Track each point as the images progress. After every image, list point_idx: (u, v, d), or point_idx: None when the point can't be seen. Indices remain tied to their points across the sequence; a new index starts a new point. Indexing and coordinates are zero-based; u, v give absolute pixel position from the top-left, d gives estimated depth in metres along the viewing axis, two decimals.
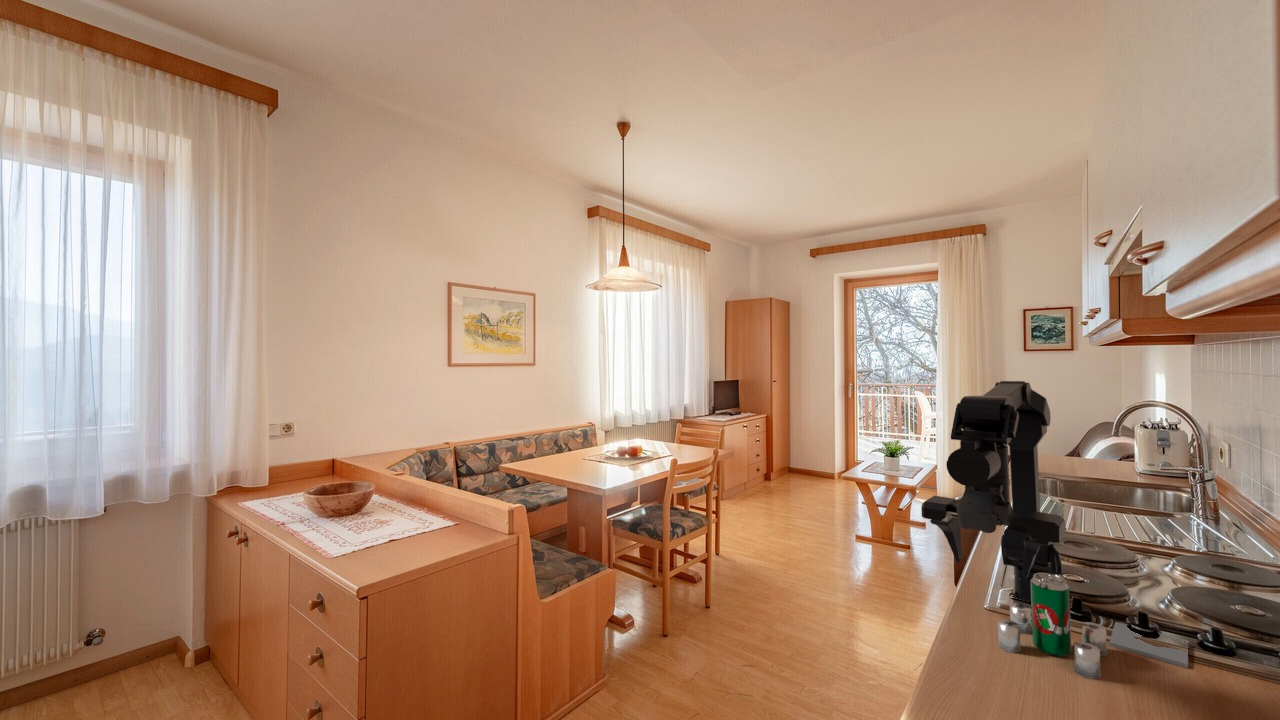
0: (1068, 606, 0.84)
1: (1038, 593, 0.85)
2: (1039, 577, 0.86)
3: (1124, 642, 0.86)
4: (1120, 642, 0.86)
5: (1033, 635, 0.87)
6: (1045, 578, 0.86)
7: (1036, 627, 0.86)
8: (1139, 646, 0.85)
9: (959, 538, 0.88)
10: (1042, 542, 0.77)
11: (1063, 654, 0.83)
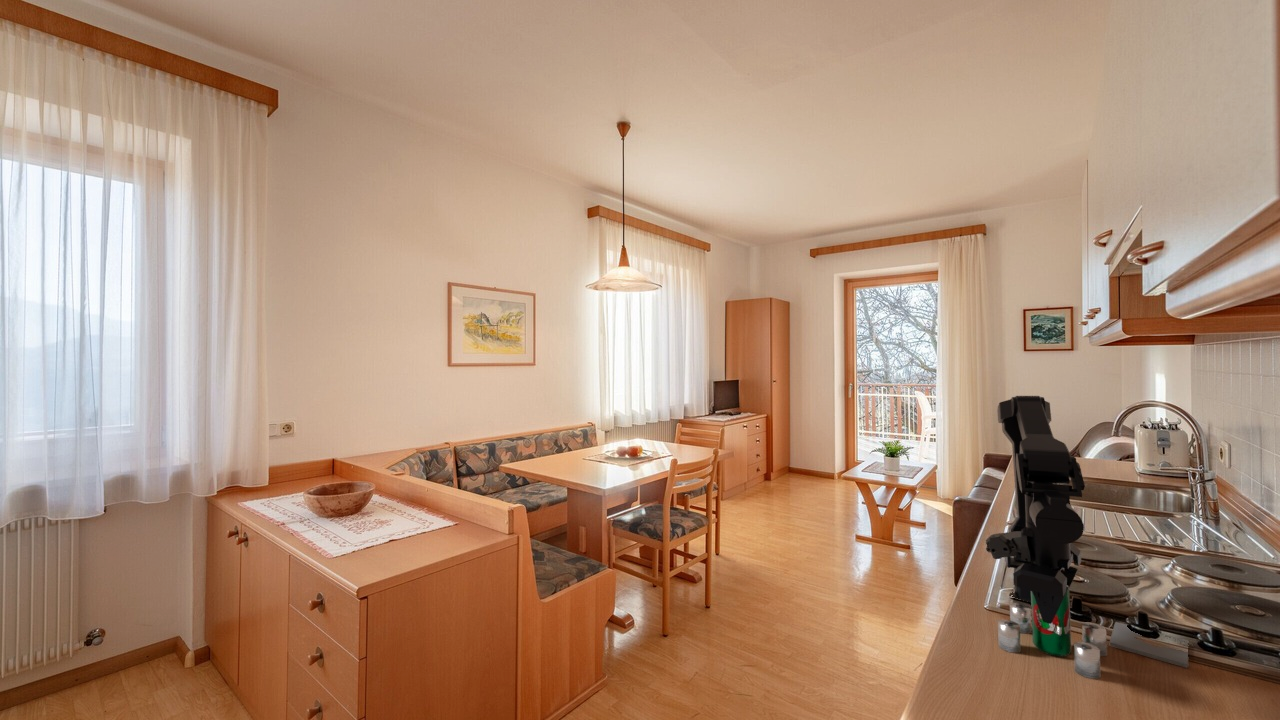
0: (1068, 606, 0.84)
1: None
2: None
3: (1124, 642, 0.86)
4: (1120, 642, 0.86)
5: (1033, 635, 0.87)
6: None
7: (1036, 627, 0.86)
8: (1139, 646, 0.85)
9: None
10: None
11: (1063, 654, 0.83)
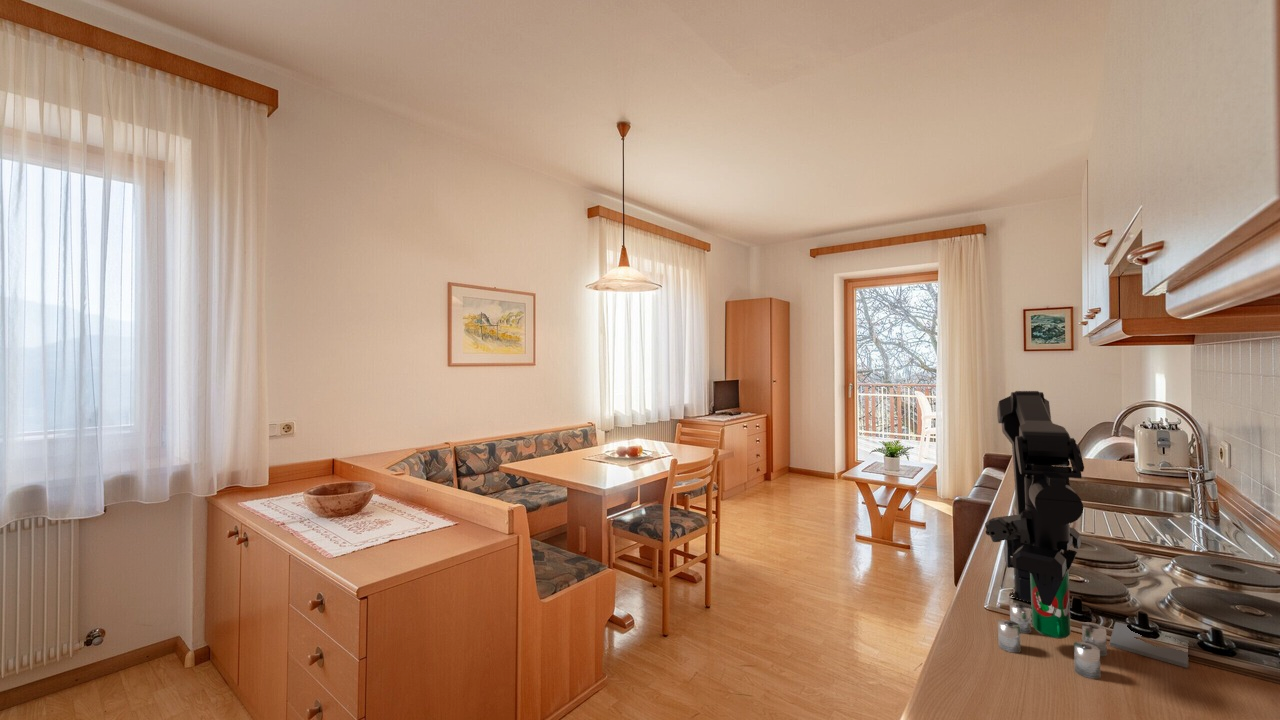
0: (1067, 588, 0.84)
1: None
2: None
3: (1124, 642, 0.86)
4: (1120, 642, 0.86)
5: (1032, 618, 0.87)
6: None
7: (1035, 610, 0.86)
8: (1139, 646, 0.85)
9: None
10: None
11: (1062, 636, 0.83)
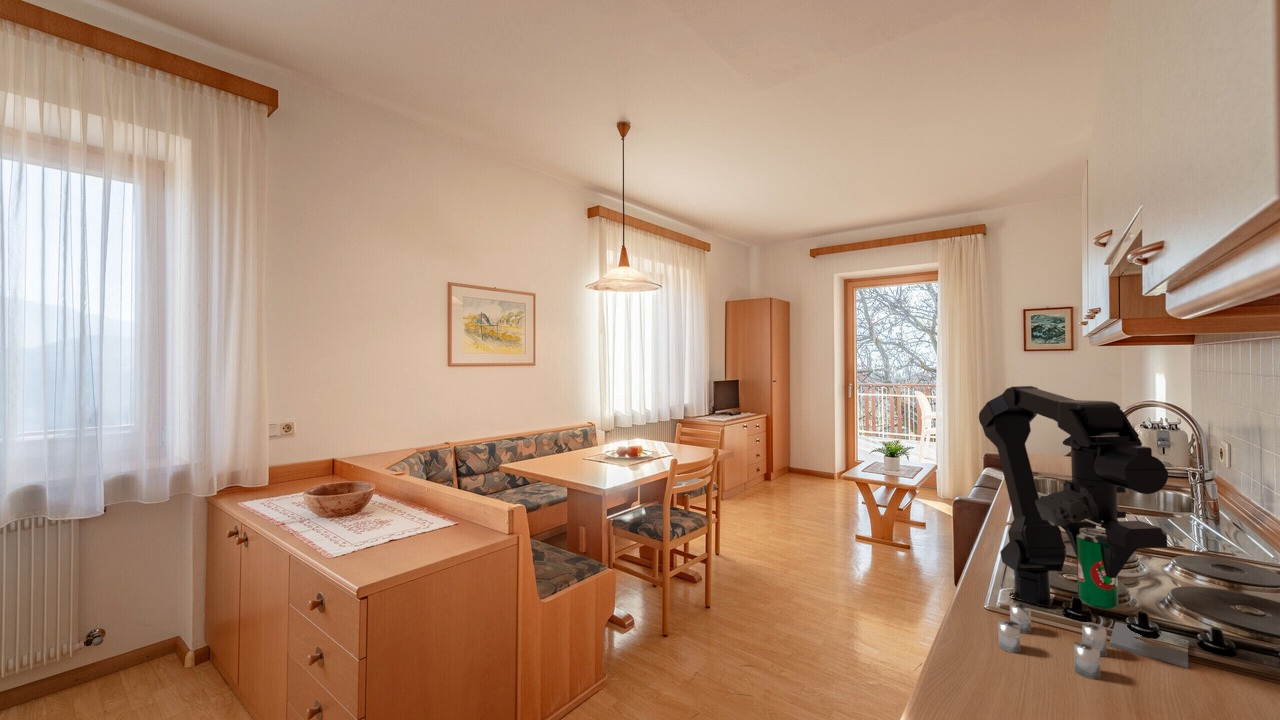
0: None
1: (1101, 550, 0.83)
2: (1092, 533, 0.85)
3: (1124, 642, 0.86)
4: (1120, 642, 0.86)
5: (1090, 595, 0.85)
6: (1096, 533, 0.85)
7: (1097, 586, 0.84)
8: (1139, 646, 0.85)
9: None
10: (1109, 541, 0.80)
11: (1117, 604, 0.84)
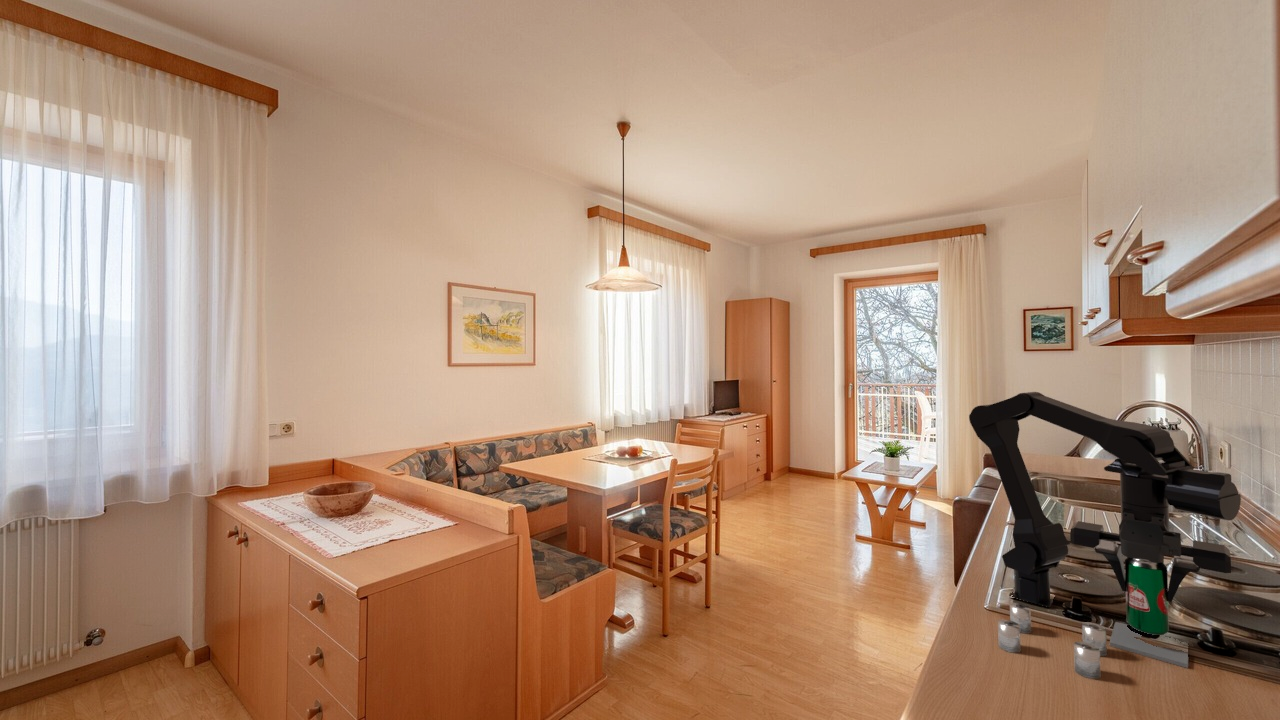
0: None
1: (1165, 576, 0.84)
2: None
3: (1124, 642, 0.86)
4: (1120, 642, 0.86)
5: (1156, 624, 0.84)
6: None
7: (1162, 613, 0.83)
8: (1139, 646, 0.85)
9: (1123, 567, 0.89)
10: (1193, 568, 0.80)
11: None
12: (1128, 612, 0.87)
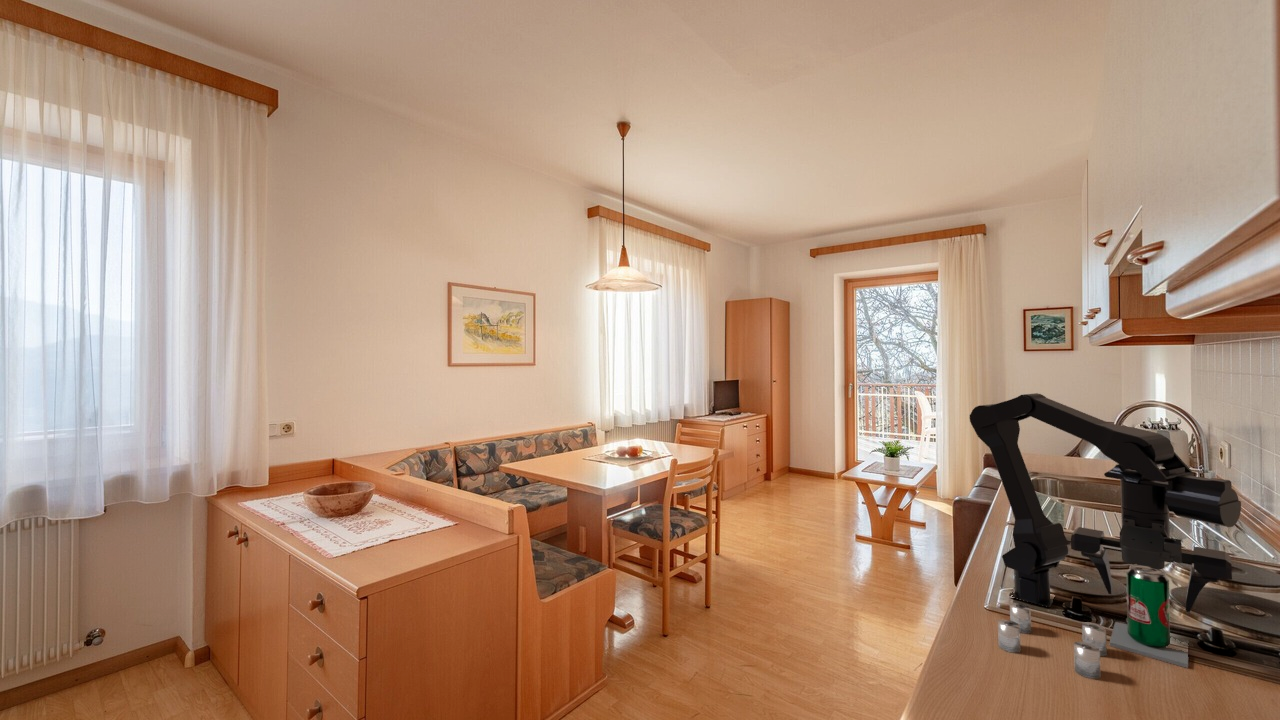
0: None
1: (1166, 589, 0.83)
2: (1153, 573, 0.84)
3: (1124, 642, 0.86)
4: (1120, 642, 0.86)
5: (1157, 636, 0.84)
6: (1151, 571, 0.85)
7: (1164, 626, 0.83)
8: (1139, 646, 0.85)
9: (1109, 570, 0.90)
10: (1212, 578, 0.79)
11: None
12: (1129, 624, 0.87)
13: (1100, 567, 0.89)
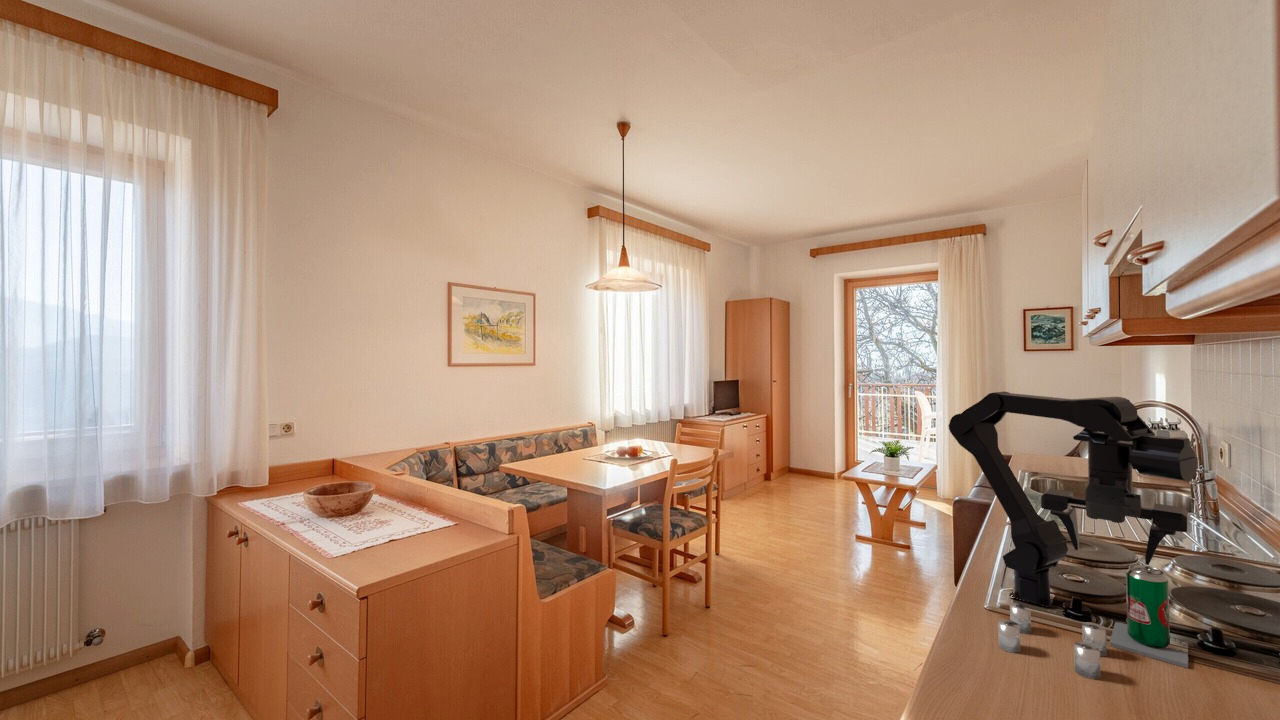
0: None
1: (1166, 589, 0.83)
2: (1152, 573, 0.84)
3: (1124, 642, 0.86)
4: (1120, 642, 0.86)
5: (1157, 637, 0.84)
6: (1151, 571, 0.85)
7: (1163, 626, 0.83)
8: (1139, 646, 0.85)
9: (1076, 528, 0.95)
10: (1169, 531, 0.84)
11: None
12: (1129, 624, 0.87)
13: (1068, 525, 0.94)
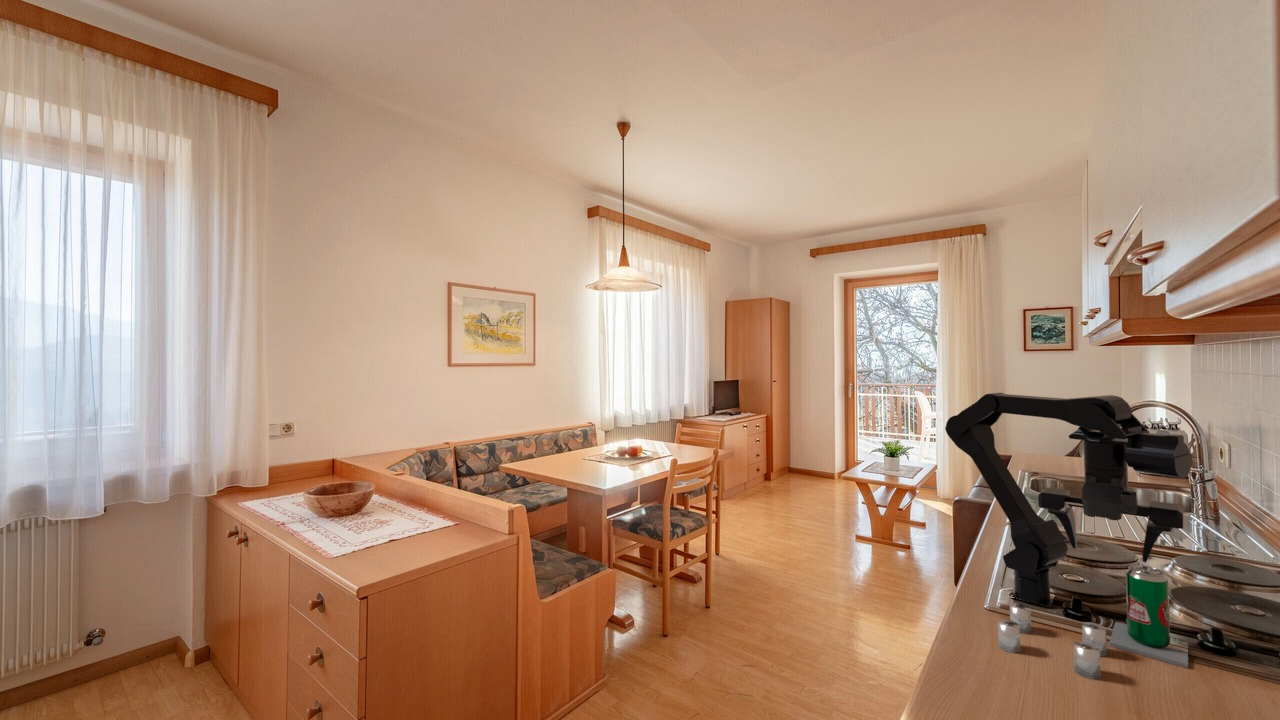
0: None
1: (1165, 589, 0.83)
2: (1152, 573, 0.84)
3: (1124, 642, 0.86)
4: (1120, 642, 0.86)
5: (1157, 637, 0.84)
6: (1150, 571, 0.85)
7: (1163, 626, 0.83)
8: (1139, 646, 0.85)
9: (1074, 526, 0.96)
10: (1165, 528, 0.84)
11: None
12: (1129, 624, 0.87)
13: (1065, 523, 0.95)
